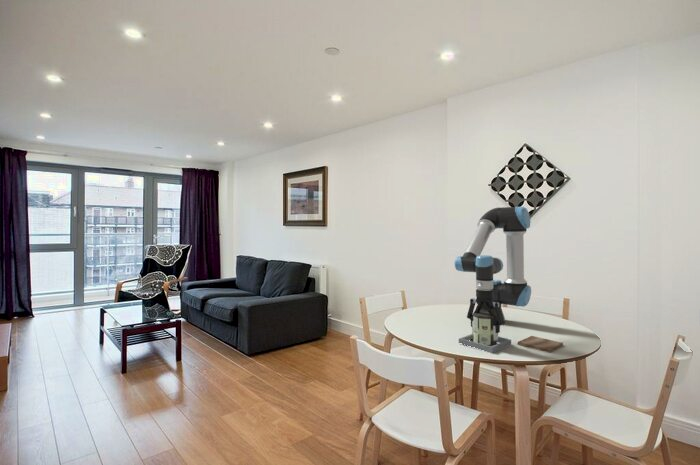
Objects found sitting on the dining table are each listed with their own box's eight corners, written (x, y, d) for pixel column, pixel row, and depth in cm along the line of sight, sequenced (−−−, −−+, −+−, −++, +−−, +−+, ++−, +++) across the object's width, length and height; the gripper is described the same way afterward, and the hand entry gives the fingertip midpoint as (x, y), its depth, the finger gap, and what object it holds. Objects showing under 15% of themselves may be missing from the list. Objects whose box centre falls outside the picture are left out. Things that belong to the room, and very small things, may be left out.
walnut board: (517, 344, 167) (517, 341, 167) (531, 338, 176) (531, 335, 176) (549, 352, 156) (549, 349, 156) (562, 345, 165) (562, 342, 165)
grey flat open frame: (458, 343, 169) (458, 338, 169) (478, 336, 180) (478, 331, 180) (492, 353, 156) (492, 347, 156) (511, 344, 167) (511, 339, 167)
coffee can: (490, 339, 174) (490, 310, 173) (501, 347, 164) (501, 316, 163) (469, 340, 173) (469, 311, 173) (478, 348, 163) (478, 316, 162)
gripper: (458, 286, 174) (459, 333, 175) (504, 293, 156) (504, 344, 157) (467, 285, 179) (468, 329, 179) (512, 291, 161) (512, 340, 162)
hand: (484, 336), depth 168 cm, fingers closed on coffee can, 10 cm apart
